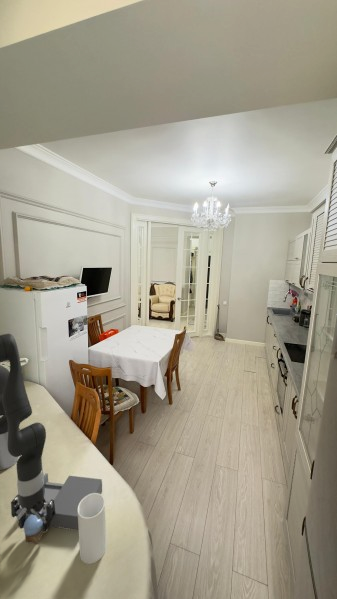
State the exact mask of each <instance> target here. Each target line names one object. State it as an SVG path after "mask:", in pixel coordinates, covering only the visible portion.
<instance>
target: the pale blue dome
mask: <svg viewBox="0 0 337 599" xmlns="http://www.w3.org/2000/svg"><path fill="white" fill-rule="evenodd" d="M39 513H40V514H41V512H39ZM42 528H43V521H42V520H41V519H38V518H37V517H36V515H30V516H29V517H26V521H25V523H24V527H23V532H24V534H26V535H28V536H31V535H34V534H36V533H38V532H39V531H40V530H41V529H42Z"/></svg>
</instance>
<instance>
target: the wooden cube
mask: <svg viewBox="0 0 337 599" xmlns="http://www.w3.org/2000/svg"><path fill="white" fill-rule="evenodd" d="M24 534H25V533H24ZM43 534H44V532H43V528H42V529H41V530H40V531H39V532H38V533H36V534H34V535H31V536H28V535H26V534H25V535H24V536H25V542H26V543H32V544H38V543H39V541H40V539H41V538H42V536H43Z"/></svg>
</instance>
